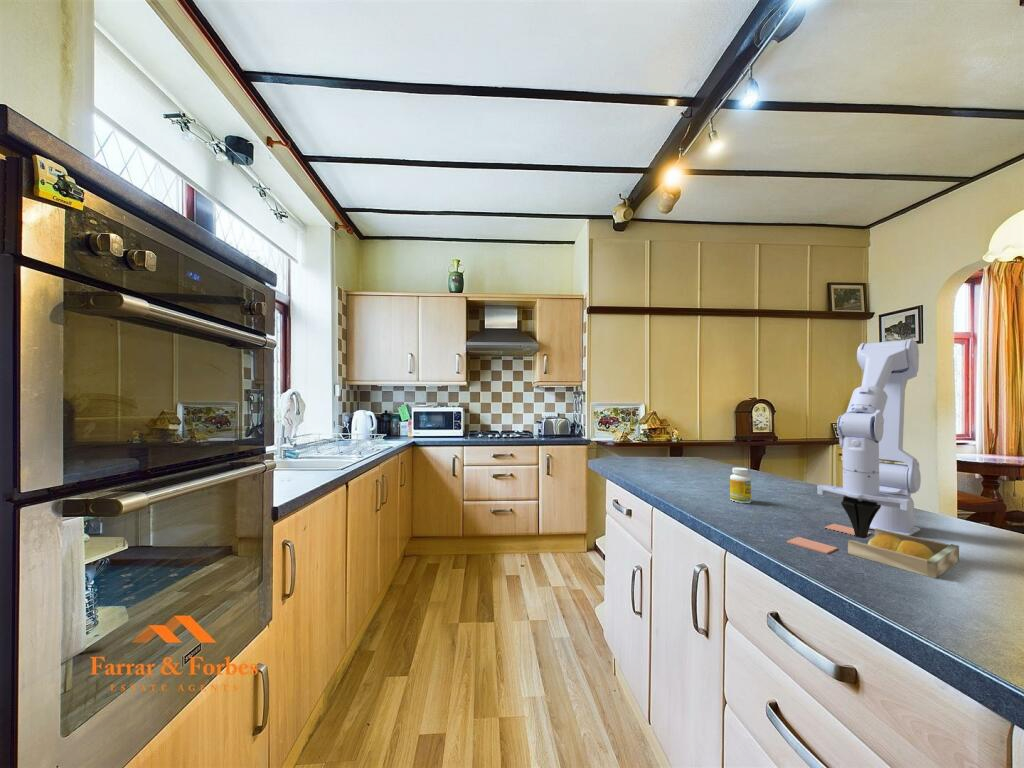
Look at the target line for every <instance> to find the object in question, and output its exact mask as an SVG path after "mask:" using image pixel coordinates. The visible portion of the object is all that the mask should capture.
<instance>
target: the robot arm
mask: <svg viewBox="0 0 1024 768" xmlns="http://www.w3.org/2000/svg"><path fill="white" fill-rule="evenodd" d="M919 350H920V349H919V345H918V343H917V341H916V340H914V338H913V339H912V338H910V339H905V340H904V339H903V340H892V341H881V342H867V343H866V342H862V343H860V344H859V346H858V347H857V351H856V360H857V364H858V365H859V367H860V368H861V371H862V372H863V375H862V379H861V380H862V381H861V386H858V387H857V388H854V390H853V391H852V395H851V396H850V401H849V402H848V406H847V409H846V411H845V412H844V413H843V414H840V415H839V416H838V418H837V424H836V431H837V434H838V437H839V438H838V439H839V440H838V441H839V447H840V448H841V449H842V451H841V452H842V455H841V456H842V458H841V459H842V487H841V486H835V485H834V486H833V485H826V484H817V486H816V487H817V489H816V490H817V495H821V496H824V495H825V496H830V497H836V498H840V499H842V501H841V502H840V505H841V506H842V508H843V509H844V511H845V512H846V514H847V516H848V519H849V520H850V523H851V526H852V528H853V529H854V533H855V536H854V537H855V538H860V539H866V538H868V536H869V535H868V532H870V531H869V530H874V531H875V529H876V528H878V529H882V530H886V531H891V532H895V533H900V534H904V535H909V536H912V535H914V534H916V533H917V532H919V531H921V528H920V527H917V526H915V503H914V500H913V497H911V495H913V494H916V493H917V492H919V490H920V489H921V488H920V487H921V481H922V480H921V479H922V477H921V476H922V475H921V471H920V462H919V460H918V459H917V458H916V457H915V456H913V455H911V454H910V453H909V452H906V451H905V450H904V428H905V427H904V423H905V421H904V420H905V403H906V402H905V396H906V389H907V384H908V381H909V380H911V379H914V378H916V377H918V372H919V365H920V364H919V363H920V360H919V359H920V353H919V352H920V351H919ZM882 461H883V462H882ZM867 535H868V536H867Z"/></svg>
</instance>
